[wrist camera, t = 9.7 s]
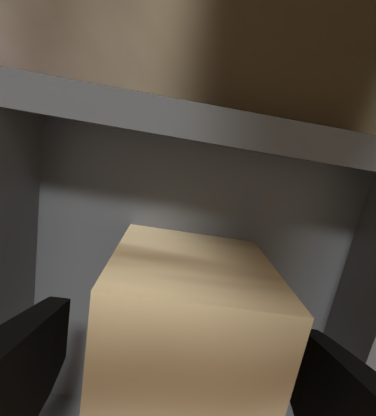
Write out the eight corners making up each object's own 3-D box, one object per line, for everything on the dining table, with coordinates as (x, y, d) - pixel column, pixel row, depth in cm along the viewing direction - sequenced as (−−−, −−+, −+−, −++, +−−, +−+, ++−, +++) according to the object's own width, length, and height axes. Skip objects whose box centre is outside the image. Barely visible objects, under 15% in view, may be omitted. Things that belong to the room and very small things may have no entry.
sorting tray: (542, 450, 15) (630, 525, 12) (12, 397, 13) (-36, 471, 10) (685, 203, 12) (850, 222, 9) (23, 83, 10) (-42, 58, 7)
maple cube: (230, 347, 12) (265, 482, 7) (117, 334, 12) (74, 467, 7) (254, 241, 11) (314, 318, 6) (130, 224, 11) (91, 290, 6)
